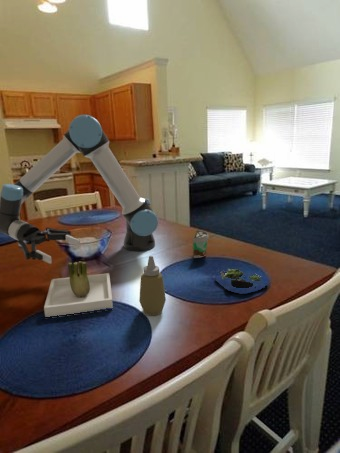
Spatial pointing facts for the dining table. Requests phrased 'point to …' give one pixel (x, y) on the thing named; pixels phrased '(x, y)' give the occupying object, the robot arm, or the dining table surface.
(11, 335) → the dining table surface
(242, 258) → the dining table surface
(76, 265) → the fennel bulb
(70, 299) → the bin
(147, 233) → the robot arm
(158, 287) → the squeeze bottle
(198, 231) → the food container
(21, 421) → the dining table surface
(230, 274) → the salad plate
